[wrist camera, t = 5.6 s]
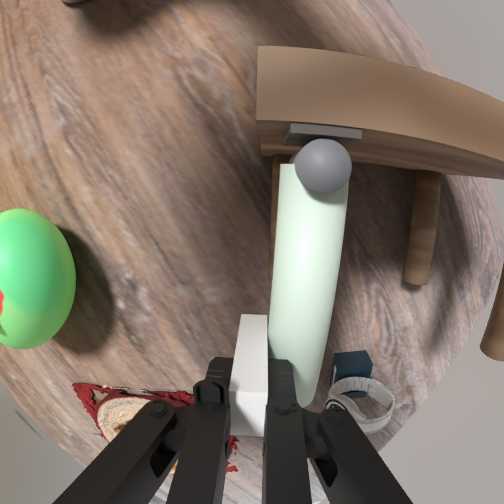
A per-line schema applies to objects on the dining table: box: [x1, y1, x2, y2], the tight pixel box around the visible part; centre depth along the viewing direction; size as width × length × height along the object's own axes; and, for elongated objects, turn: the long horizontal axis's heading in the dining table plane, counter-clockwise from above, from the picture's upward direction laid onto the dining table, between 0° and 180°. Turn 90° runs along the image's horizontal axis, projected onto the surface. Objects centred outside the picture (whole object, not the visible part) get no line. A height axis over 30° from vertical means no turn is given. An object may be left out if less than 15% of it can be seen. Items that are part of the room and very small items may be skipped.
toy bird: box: [0, 209, 76, 349], centre depth 26 cm, size 18×17×15 cm
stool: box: [256, 46, 504, 361], centre depth 20 cm, size 15×20×20 cm
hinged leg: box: [267, 139, 352, 408], centre depth 13 cm, size 13×3×4 cm, turn 177°
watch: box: [325, 350, 395, 435], centre depth 30 cm, size 6×8×11 cm
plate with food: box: [72, 383, 240, 475], centre depth 39 cm, size 25×26×4 cm
